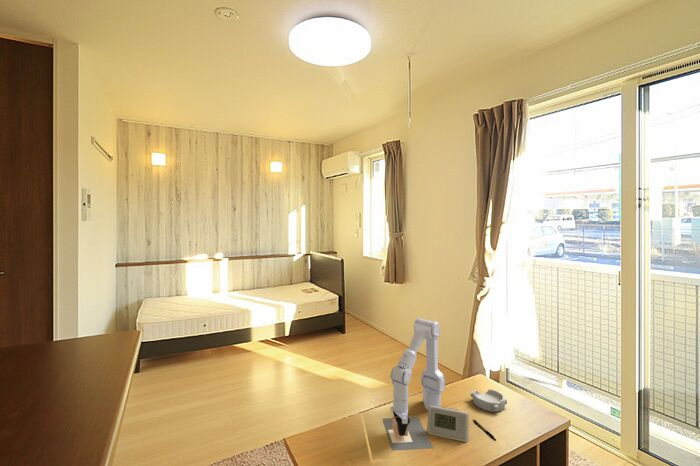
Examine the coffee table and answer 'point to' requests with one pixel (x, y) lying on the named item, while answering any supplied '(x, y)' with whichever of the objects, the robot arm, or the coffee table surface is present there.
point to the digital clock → (448, 423)
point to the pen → (484, 429)
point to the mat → (413, 440)
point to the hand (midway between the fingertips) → (400, 430)
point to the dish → (489, 400)
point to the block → (395, 429)
